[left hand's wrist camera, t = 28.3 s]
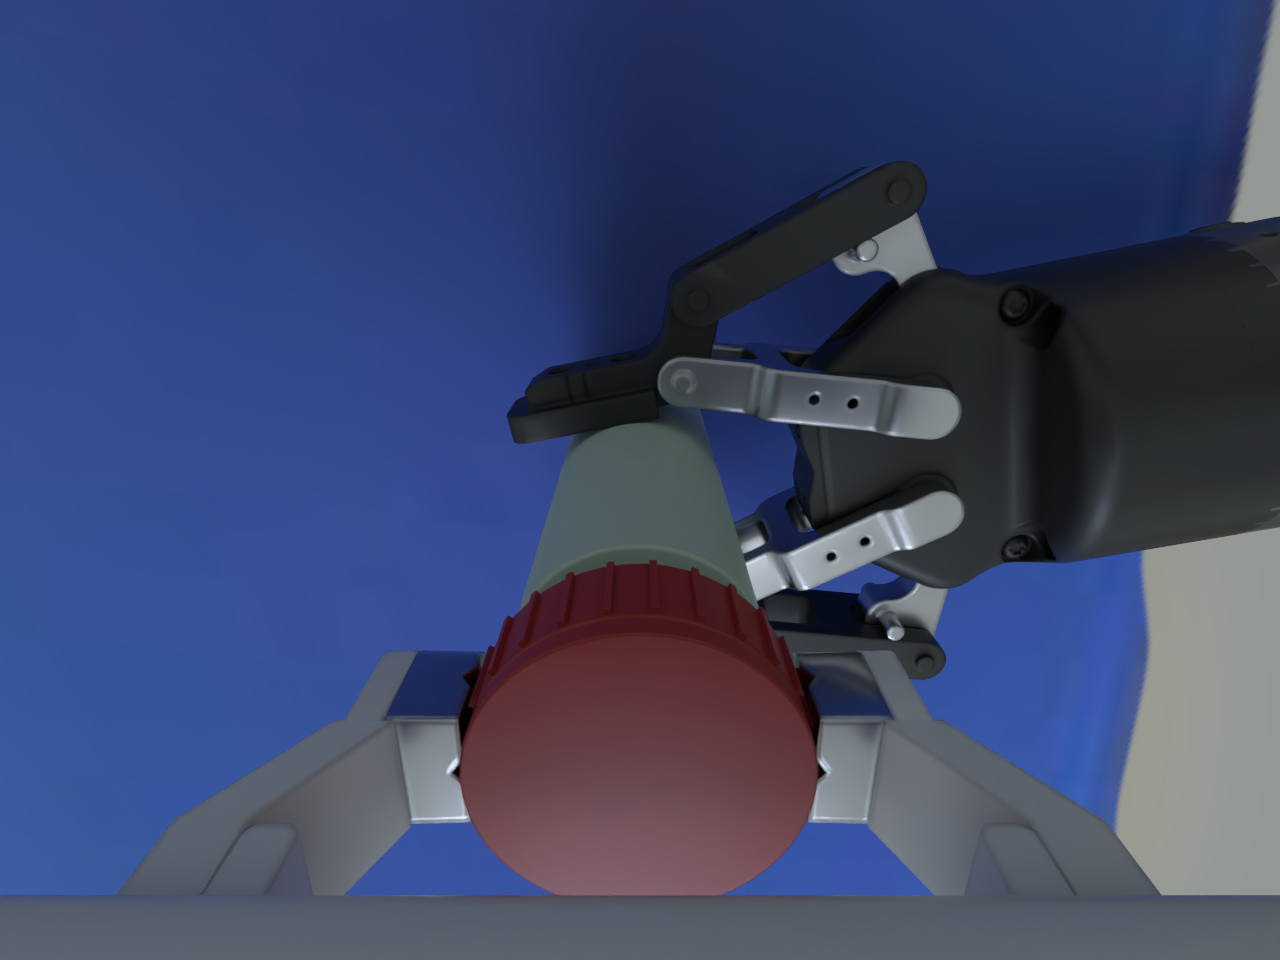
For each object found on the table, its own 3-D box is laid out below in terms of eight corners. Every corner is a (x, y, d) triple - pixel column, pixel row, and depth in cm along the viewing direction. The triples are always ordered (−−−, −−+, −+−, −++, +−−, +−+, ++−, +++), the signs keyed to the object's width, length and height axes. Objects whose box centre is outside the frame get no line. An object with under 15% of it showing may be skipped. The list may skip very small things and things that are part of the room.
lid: (713, 501, 9) (730, 563, 8) (842, 747, 11) (879, 843, 9) (420, 638, 10) (377, 722, 9) (580, 850, 12) (570, 956, 10)
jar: (721, 393, 24) (845, 676, 10) (663, 492, 26) (693, 871, 11) (614, 336, 24) (572, 547, 9) (560, 440, 25) (444, 772, 10)
